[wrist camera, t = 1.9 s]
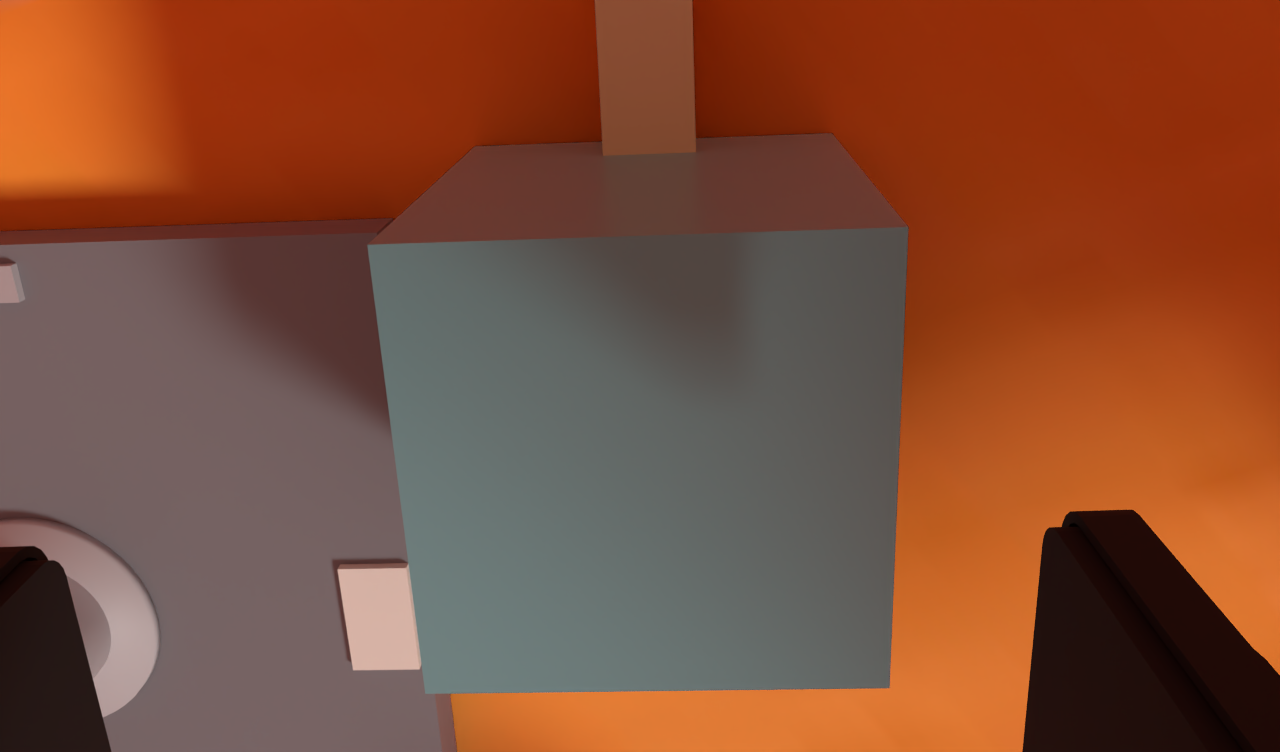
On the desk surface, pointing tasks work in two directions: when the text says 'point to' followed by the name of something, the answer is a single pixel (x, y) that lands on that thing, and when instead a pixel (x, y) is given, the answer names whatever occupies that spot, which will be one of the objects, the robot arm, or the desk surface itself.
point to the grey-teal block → (647, 399)
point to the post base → (216, 482)
